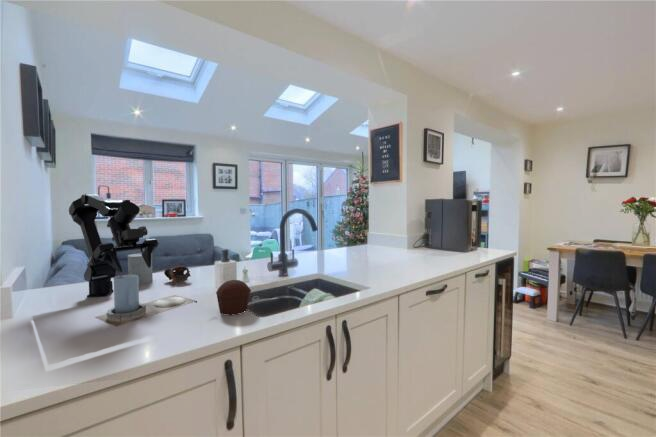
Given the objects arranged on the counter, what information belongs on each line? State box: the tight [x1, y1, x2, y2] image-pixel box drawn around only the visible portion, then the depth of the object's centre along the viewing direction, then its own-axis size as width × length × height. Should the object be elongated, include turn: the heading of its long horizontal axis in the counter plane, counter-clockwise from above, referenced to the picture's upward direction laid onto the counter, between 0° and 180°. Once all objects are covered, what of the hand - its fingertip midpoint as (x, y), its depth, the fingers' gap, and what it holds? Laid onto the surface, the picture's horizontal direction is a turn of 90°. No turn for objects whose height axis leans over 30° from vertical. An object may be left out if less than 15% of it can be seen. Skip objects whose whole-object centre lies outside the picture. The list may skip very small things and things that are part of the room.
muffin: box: [215, 279, 252, 316], centre depth 102 cm, size 12×11×10 cm
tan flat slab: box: [94, 294, 198, 327], centre depth 100 cm, size 26×13×3 cm, turn 150°
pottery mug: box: [163, 265, 191, 285], centre depth 137 cm, size 12×10×8 cm
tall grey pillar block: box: [127, 252, 154, 285], centre depth 137 cm, size 10×10×12 cm
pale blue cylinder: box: [113, 274, 140, 314], centre depth 93 cm, size 9×6×12 cm
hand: (136, 269), depth 103 cm, fingers open, 9 cm apart
